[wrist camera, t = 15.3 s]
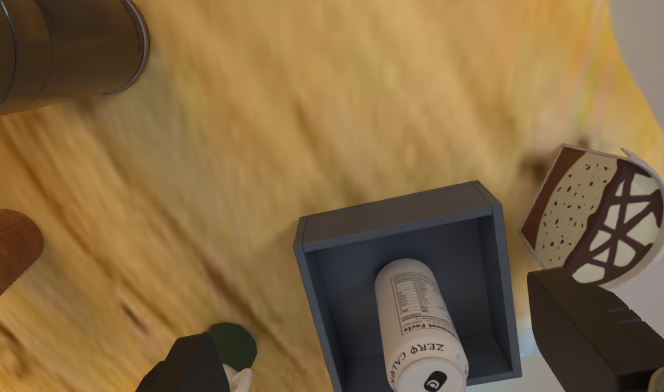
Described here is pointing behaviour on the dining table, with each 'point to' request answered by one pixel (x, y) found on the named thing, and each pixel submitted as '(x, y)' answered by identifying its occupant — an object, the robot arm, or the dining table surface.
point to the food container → (597, 217)
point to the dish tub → (422, 245)
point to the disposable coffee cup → (17, 246)
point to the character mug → (235, 354)
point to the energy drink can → (418, 331)
